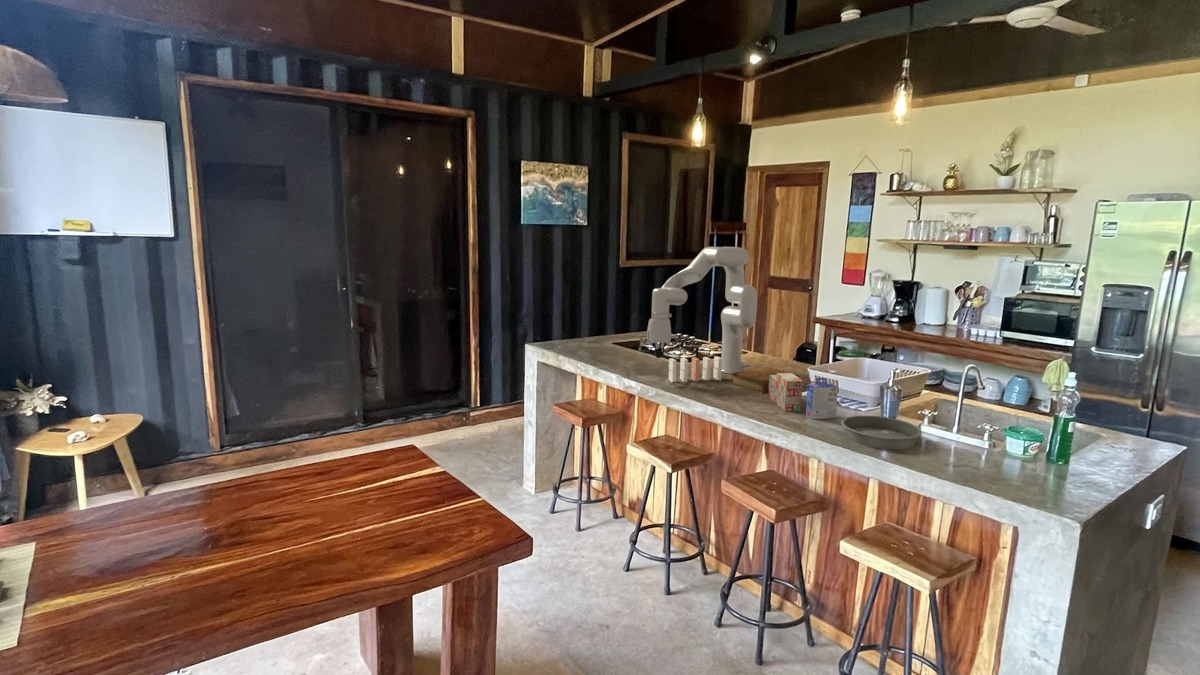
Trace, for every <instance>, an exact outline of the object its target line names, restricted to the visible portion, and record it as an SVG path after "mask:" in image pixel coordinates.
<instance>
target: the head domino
mask: <svg viewBox="0 0 1200 675" xmlns="http://www.w3.org/2000/svg"><path fill="white" fill-rule="evenodd" d="M669 380H670V381H669ZM668 381H669V382H671V383H672V382H676V383H677V360H676V359H674V358H668Z"/></svg>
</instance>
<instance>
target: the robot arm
mask: <svg viewBox="0 0 1200 675" xmlns="http://www.w3.org/2000/svg"><path fill="white" fill-rule="evenodd" d="M749 256H750V255H749V253H748V251H747V249H746V248H743V247H737V246H706V247H704V248H703V249H701V251H700V252H699V253H698V254H697V256H695V258H694V259H693V260H692V261H691V263H689V264H688V266H687V267H685V268H684V269H682V270H680V271H679V272H677V273H675V274H673V275H672V276H671V277H669V278H668V279H667V280H666V282H665V283H664V284H663V285H662V286H661V287H655V288H654V289H653V290H652V294H651V295H652V296H651V316H650V317H651V318H649V320H648V323H647V324H648V325H647V330H646V340H647V341H646V344H647V345H649V346H652V347H653V348H654V356H655V358H657V359H661V358H662V356H663V350H664V348H665V347H666V346H668V345H670V344H672V343H671V342H672V341H671V340H672V327H671V320H670V318H672V313H670V305H672V306H673V305H674V306H681V305H683V304H685V303H686V302H687V300H688V293H687V291H686V290H684V289H683V287H685V286H688V285H692V284H694V283H698V282H700V281H702V280H703V278H704V277H705V276H706V275H707V274H708V273H709V272H710V271H711V269H712V268H713V267H714V266H715V267H723V269H724V270H725V289H724V290H725V294H724V295H725V299H726V302H729V303H731V304H735V305H736V306H735V305H728V306H725V307H724V308H723V309H722V311H721V313H720V321H721V327H722V330H721V331H722V332H721V333H722V337H721V354H720V355H721V356H720V358H722V372H721V373H723V374H730V375H731V373H733V372H739V371H745V368H750V367H751V363H750V362H744V361H742V356H743V355H742V353H743V351H742V350H743V331H742V329H751V328H752V327H753V326H754V325H755V323H756V319H757V311H758V310H757V308H758V307H757V306H758V292H757V290H756V288H755V287H754V286H753V285H751V284H745V270H744V267H743V266H744V265H746V264H747V263H748V260H749ZM737 305H739V306H737Z"/></svg>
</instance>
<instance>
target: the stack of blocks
mask: <svg viewBox="0 0 1200 675" xmlns="http://www.w3.org/2000/svg"><path fill="white" fill-rule="evenodd" d="M792 373H793V372H790V373H777V375H769V392H768V397H769V398H770V400H772V401H773V400H774V401H775V402H776V403H777V404H778V405H777V404H776V403H775V402H774V401H773V402H774V403H775V404H776V405H777V406H778V407H779V408H781V407H782V408H781V410H783V409H784V410H789V411H788V412H801V409H802V396H803V385H804V380H802V379H801V377H800V376H799V377H800V378H799V377H797V376H795V375H794V374H795V373H794V374H792ZM784 410H783V411H784Z"/></svg>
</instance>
